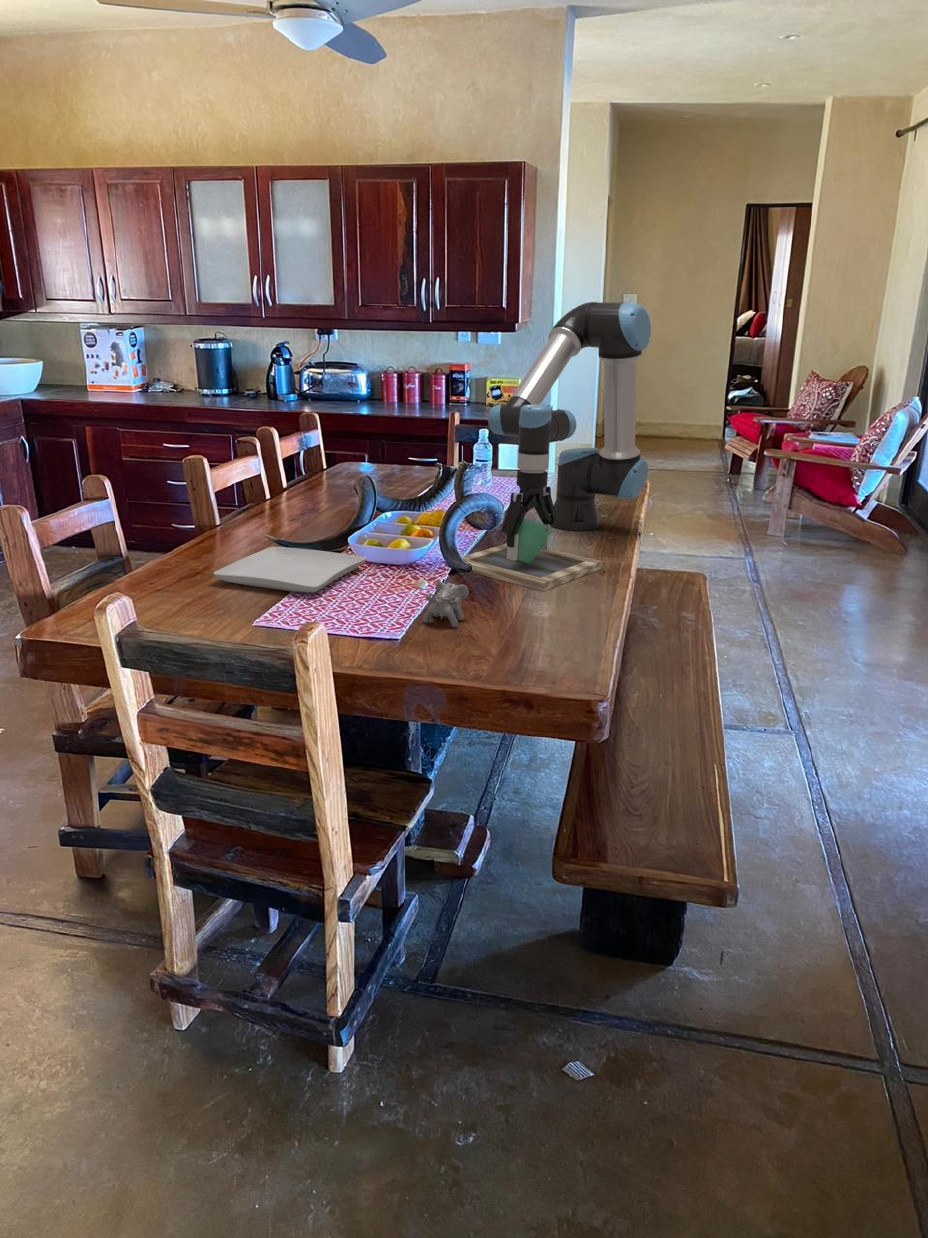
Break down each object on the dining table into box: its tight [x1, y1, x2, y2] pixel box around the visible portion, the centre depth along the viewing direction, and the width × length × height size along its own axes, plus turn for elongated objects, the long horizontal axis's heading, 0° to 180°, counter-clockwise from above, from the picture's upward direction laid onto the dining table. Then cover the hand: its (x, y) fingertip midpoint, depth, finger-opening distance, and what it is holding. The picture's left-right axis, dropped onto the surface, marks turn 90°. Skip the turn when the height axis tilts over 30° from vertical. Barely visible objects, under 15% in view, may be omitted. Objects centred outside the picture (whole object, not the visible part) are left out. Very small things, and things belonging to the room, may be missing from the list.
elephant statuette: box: [422, 580, 470, 628], centre depth 188 cm, size 9×12×8 cm
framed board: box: [461, 542, 603, 592], centre depth 226 cm, size 26×28×2 cm
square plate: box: [212, 545, 367, 594], centre depth 214 cm, size 27×27×4 cm
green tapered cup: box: [513, 518, 552, 565], centre depth 225 cm, size 15×10×10 cm
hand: (528, 554), depth 226 cm, fingers closed on green tapered cup, 13 cm apart
